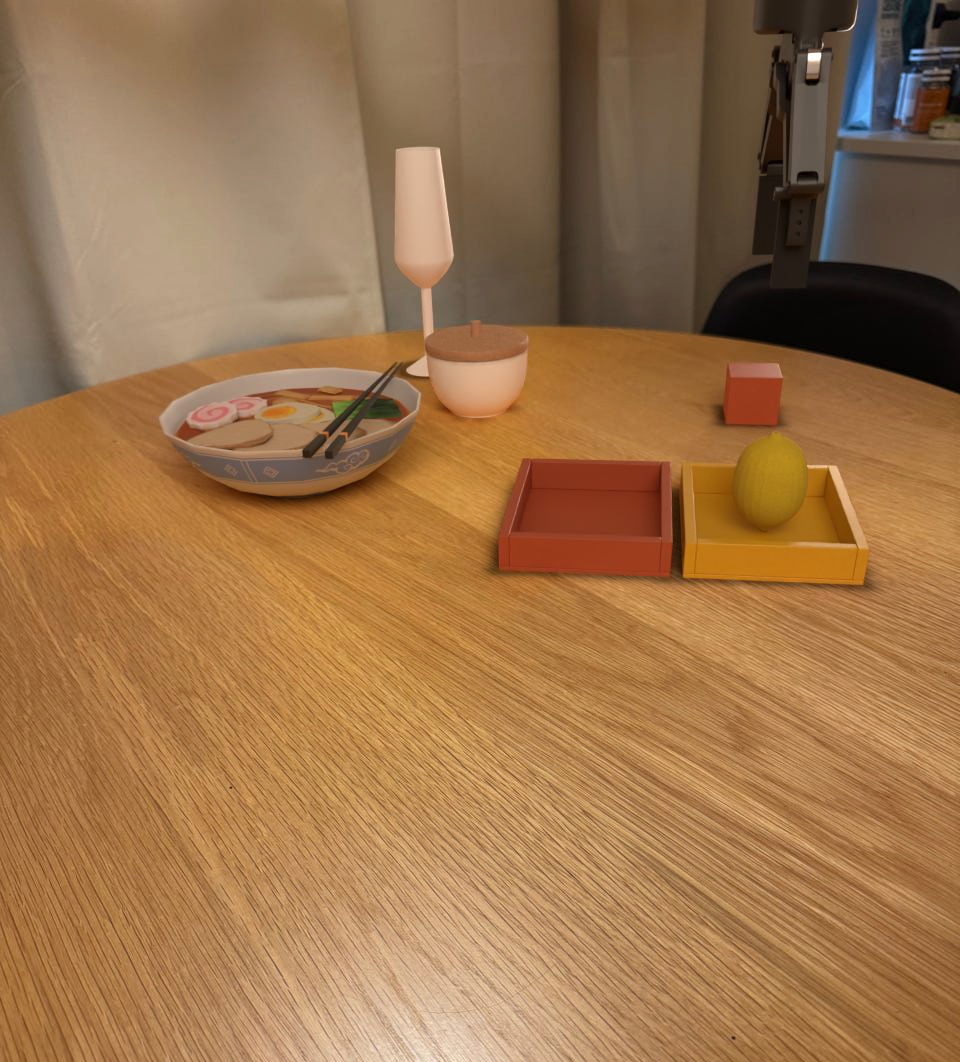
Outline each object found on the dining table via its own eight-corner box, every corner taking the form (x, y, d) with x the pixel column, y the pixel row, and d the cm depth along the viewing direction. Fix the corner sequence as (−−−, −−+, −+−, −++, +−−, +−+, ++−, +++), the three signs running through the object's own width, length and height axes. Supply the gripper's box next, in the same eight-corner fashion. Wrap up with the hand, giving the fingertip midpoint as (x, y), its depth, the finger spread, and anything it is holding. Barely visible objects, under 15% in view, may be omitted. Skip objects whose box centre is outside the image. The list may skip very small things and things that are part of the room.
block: (772, 411, 104) (778, 363, 101) (776, 427, 100) (783, 377, 97) (722, 410, 105) (727, 362, 102) (725, 426, 101) (730, 377, 98)
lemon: (787, 552, 75) (801, 450, 71) (716, 536, 78) (726, 437, 74) (810, 524, 79) (824, 426, 75) (742, 510, 82) (753, 415, 78)
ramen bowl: (240, 431, 104) (227, 352, 100) (455, 440, 100) (451, 358, 95) (119, 535, 83) (96, 441, 79) (384, 552, 79) (375, 453, 75)
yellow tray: (831, 500, 84) (837, 465, 83) (862, 588, 71) (870, 549, 70) (679, 495, 86) (681, 461, 85) (682, 580, 73) (685, 542, 72)
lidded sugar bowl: (482, 435, 101) (478, 340, 96) (408, 414, 107) (401, 324, 102) (549, 407, 107) (549, 317, 102) (476, 389, 114) (473, 303, 109)
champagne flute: (391, 374, 120) (373, 151, 107) (425, 360, 124) (412, 145, 112) (436, 382, 116) (423, 153, 104) (470, 367, 121) (461, 146, 108)
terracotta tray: (668, 495, 86) (670, 461, 85) (669, 580, 73) (672, 541, 72) (523, 491, 88) (522, 457, 87) (498, 573, 75) (497, 535, 74)
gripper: (741, -21, 86) (720, 243, 97) (778, -34, 65) (746, 304, 76) (832, -25, 85) (800, 241, 96) (900, -41, 64) (850, 303, 75)
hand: (776, 270), depth 86 cm, fingers open, 13 cm apart
